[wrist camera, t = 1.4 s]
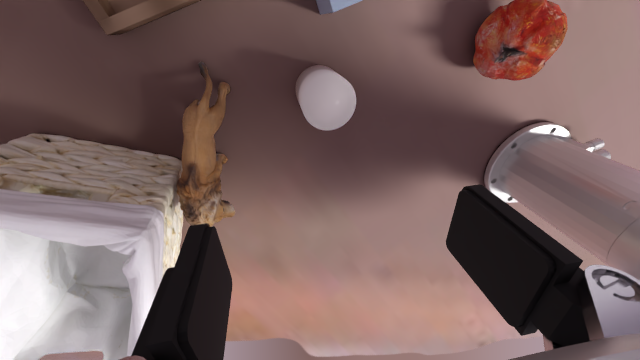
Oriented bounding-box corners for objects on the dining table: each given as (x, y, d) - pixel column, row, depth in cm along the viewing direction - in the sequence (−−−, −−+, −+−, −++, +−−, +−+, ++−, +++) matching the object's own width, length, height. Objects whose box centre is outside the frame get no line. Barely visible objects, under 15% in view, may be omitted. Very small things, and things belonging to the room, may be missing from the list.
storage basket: (20, 112, 26) (-220, 197, 13) (201, 148, 30) (154, 237, 18) (53, 281, 36) (-61, 420, 23) (184, 289, 41) (147, 408, 28)
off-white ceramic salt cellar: (332, 57, 28) (347, 65, 23) (346, 102, 30) (362, 118, 25) (288, 75, 28) (292, 87, 23) (305, 119, 30) (312, 138, 25)
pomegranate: (503, -8, 29) (472, -2, 24) (589, -8, 25) (577, -1, 20) (481, 63, 34) (450, 83, 28) (551, 73, 30) (532, 99, 24)
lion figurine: (241, 188, 34) (233, 237, 26) (196, 190, 33) (174, 241, 25) (229, 62, 26) (213, 78, 19) (170, 59, 25) (129, 75, 18)
